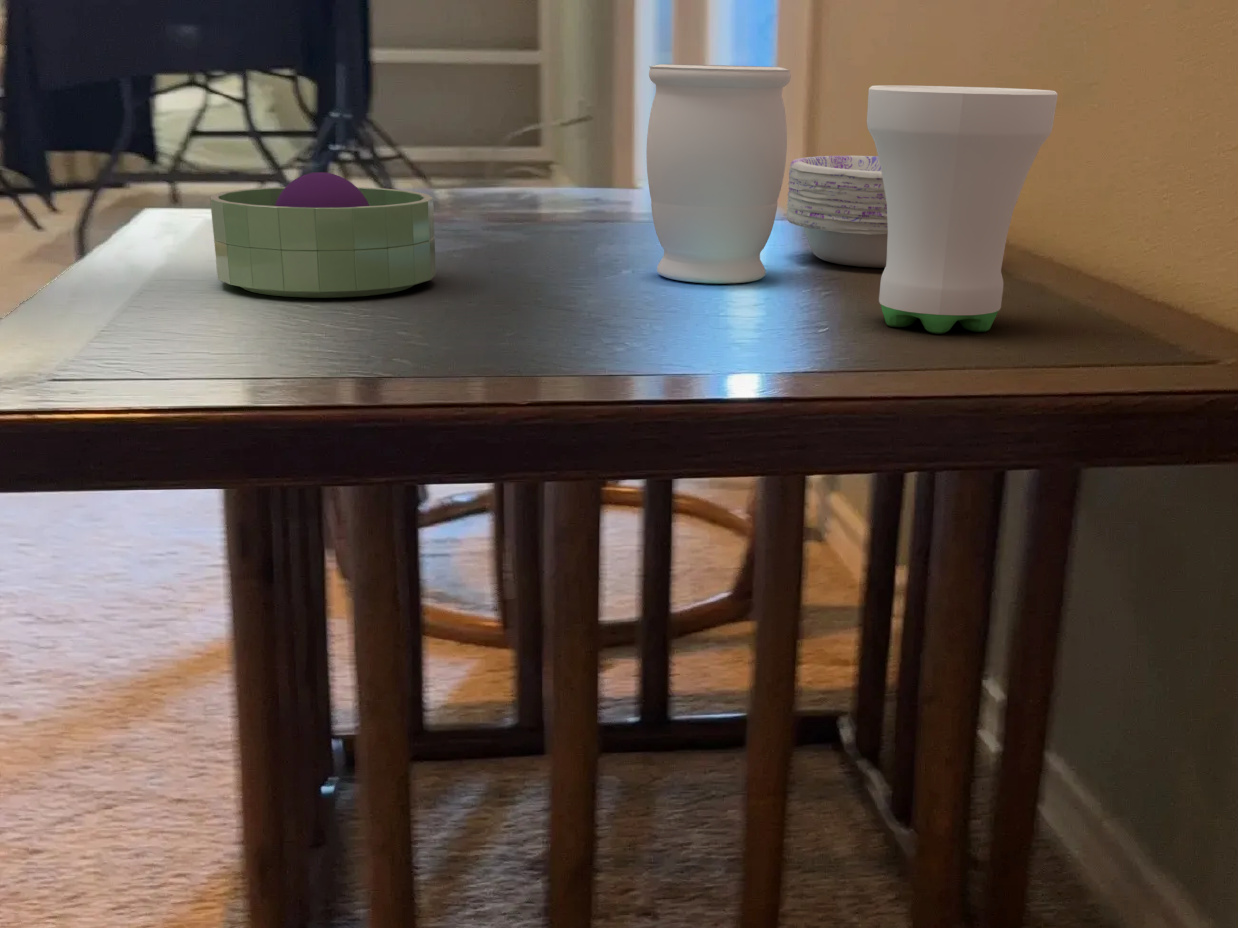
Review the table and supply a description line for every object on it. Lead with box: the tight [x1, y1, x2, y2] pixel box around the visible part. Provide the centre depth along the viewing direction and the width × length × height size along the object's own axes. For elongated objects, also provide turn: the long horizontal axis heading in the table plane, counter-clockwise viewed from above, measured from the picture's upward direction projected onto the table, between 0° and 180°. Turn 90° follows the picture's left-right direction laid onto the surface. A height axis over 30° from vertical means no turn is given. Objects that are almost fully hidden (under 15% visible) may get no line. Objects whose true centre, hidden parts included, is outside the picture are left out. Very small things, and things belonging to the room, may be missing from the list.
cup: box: [866, 84, 1059, 335], centre depth 86 cm, size 11×11×14 cm
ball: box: [275, 171, 369, 207], centre depth 98 cm, size 7×7×7 cm
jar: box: [646, 63, 792, 285], centre depth 103 cm, size 11×10×15 cm
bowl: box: [209, 186, 437, 299], centre depth 98 cm, size 15×15×6 cm
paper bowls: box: [786, 155, 888, 269], centre depth 115 cm, size 15×15×8 cm
